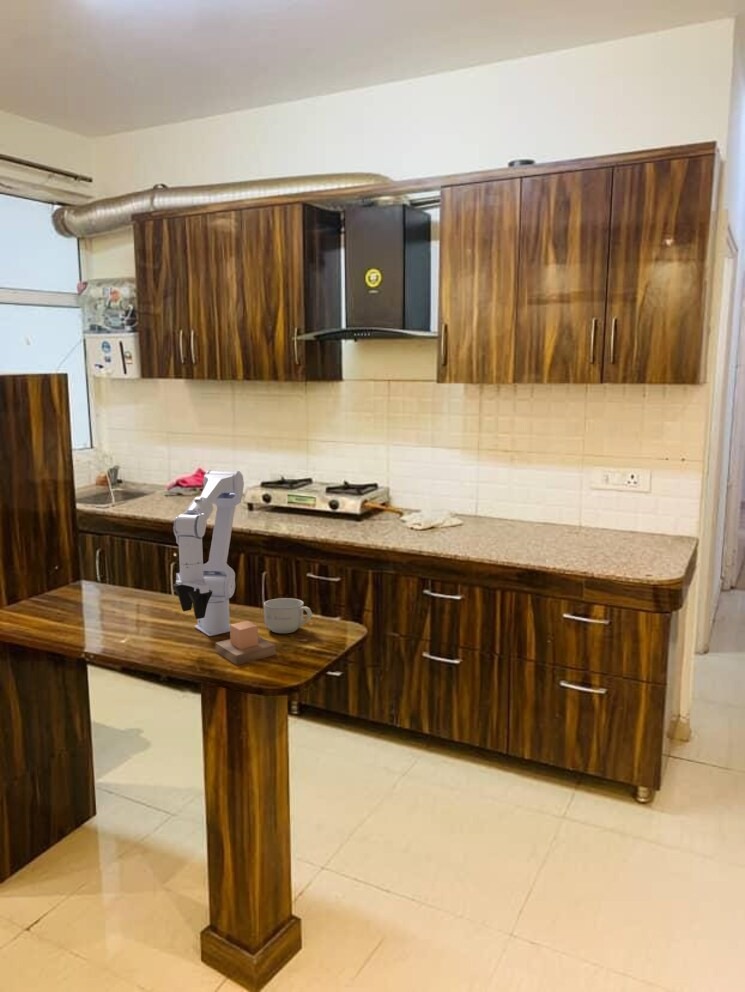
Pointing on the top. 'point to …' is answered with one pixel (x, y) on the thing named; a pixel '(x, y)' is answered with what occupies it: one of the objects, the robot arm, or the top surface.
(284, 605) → the teacup
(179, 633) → the top surface
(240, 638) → the terracotta block
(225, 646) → the walnut slab
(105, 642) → the top surface
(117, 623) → the top surface
